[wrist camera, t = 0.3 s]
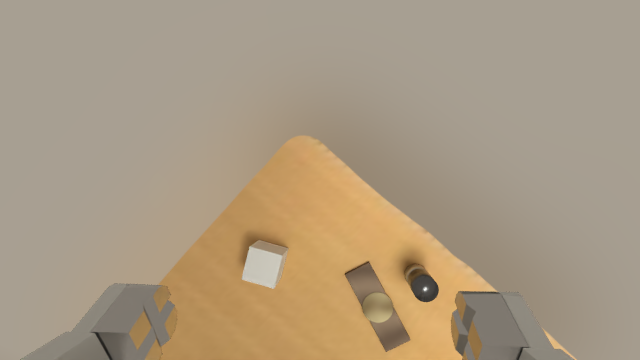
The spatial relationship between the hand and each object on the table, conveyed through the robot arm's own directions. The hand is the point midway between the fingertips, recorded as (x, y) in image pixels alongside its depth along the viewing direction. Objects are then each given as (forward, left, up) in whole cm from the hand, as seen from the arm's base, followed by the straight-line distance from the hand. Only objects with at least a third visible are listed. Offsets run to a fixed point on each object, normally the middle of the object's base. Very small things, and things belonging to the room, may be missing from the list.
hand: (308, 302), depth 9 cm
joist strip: (-21, +4, -53) cm, 57 cm away
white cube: (-4, +18, -53) cm, 57 cm away
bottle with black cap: (-19, -5, -53) cm, 57 cm away
